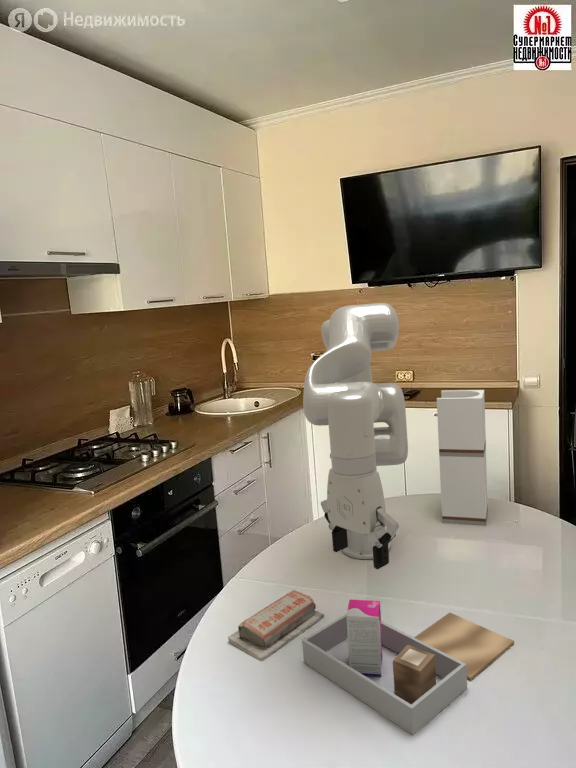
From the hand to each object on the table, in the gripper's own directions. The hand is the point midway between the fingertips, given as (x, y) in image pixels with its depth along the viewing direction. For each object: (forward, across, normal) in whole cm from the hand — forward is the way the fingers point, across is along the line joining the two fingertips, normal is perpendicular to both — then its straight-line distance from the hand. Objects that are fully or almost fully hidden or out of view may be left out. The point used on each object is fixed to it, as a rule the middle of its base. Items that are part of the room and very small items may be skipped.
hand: (360, 557), depth 103 cm
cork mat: (+21, +8, +16) cm, 27 cm away
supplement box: (+21, 0, 0) cm, 21 cm away
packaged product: (+21, -21, -4) cm, 30 cm away
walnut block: (+21, +11, 0) cm, 24 cm away
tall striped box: (+20, -24, +66) cm, 73 cm away
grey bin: (+21, +3, 0) cm, 21 cm away
